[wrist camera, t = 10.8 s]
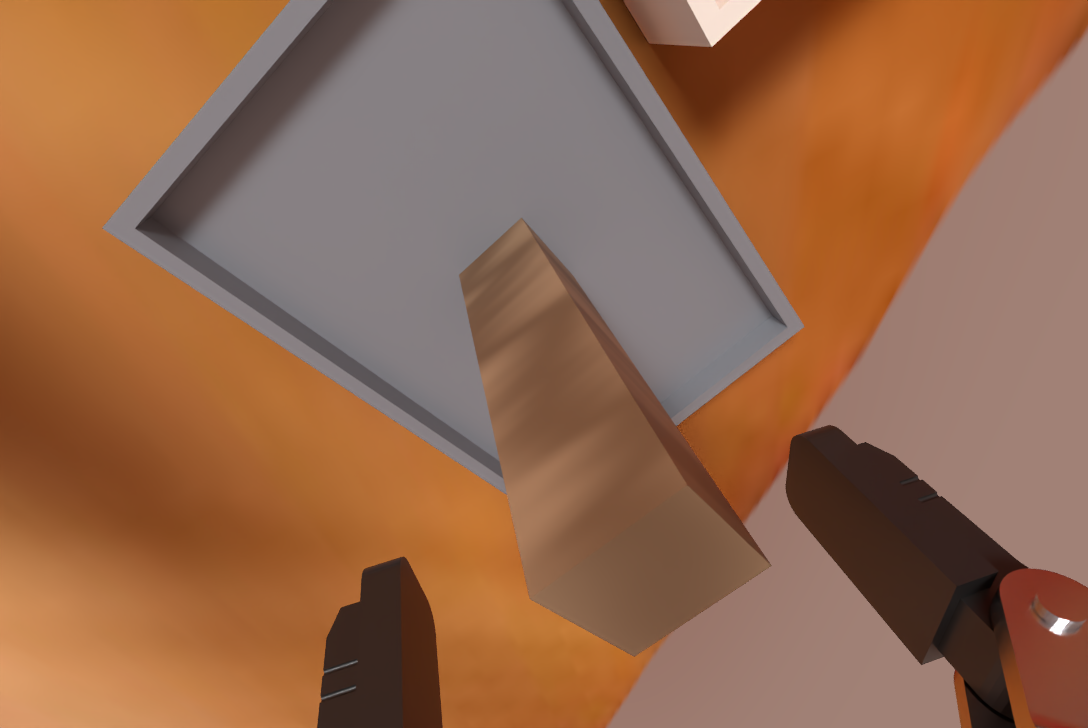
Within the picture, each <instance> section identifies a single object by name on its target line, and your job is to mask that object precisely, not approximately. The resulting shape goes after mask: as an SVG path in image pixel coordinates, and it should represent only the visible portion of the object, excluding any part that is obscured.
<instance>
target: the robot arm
mask: <svg viewBox="0 0 1088 728" xmlns="http://www.w3.org/2000/svg"><path fill="white" fill-rule="evenodd" d="M786 493H787V497H788V500H789V503H790V505H791V507H792V509H793V511H794V512H795V514H796V515H797V516H798V518H799V519H800V520H801V521H802V522H803V524H804V525H805V526H806V527H807V528H808V530H809V531H810V532H811V533H812V534H813V536H814V537H815V538H816V539H817V540H818V542H819V543H820V544H821V545H822V546H823V548H824V549H825V550H826V551H827V552H828V554H829V555H830V556H831V557H832V558H833V560H834V561H835V562H836V563H837V564H838V566H839V567H840V568H841V569H842V570H843V572H844V573H845V574H846V575H847V576H848V578H849V579H850V580H851V581H852V582H853V584H854V585H855V586H856V587H857V588H858V590H859V591H860V592H861V593H862V594H863V596H864V597H865V598H866V599H867V600H868V602H869V603H870V604H871V605H872V606H873V607H874V609H875V610H876V611H877V612H878V614H879V615H880V616H881V617H882V618H883V620H884V621H885V622H886V623H887V624H888V626H889V627H890V628H891V629H892V630H893V632H894V633H895V634H896V635H897V636H898V638H899V639H900V640H901V641H902V642H903V643H904V645H905V646H906V647H907V648H908V650H909V651H910V652H911V653H912V654H913V656H914V657H915V658H916V659H917V660H918V662H919V663H920V664H921V665H923V664H925V663H928V662H931V661H933V660H936V659H939V658H942V657H945V658H946V659H947V661H948V662H949V663H950V664H951V665H952V666H953V667H954V669H955V672H954V685H955V692H956V698H957V704H958V710H959V717H960V723H961V728H1088V587H1086V586H1084V585H1083V584H1081V583H1079V582H1077V581H1075V580H1073V579H1071V578H1069V577H1066V576H1064V575H1061V574H1058V573H1055V572H1051V571H1048V570H1042V569H1031V568H1028V567H1027V566H1025V565H1023V564H1022V563H1020V562H1019V561H1018V560H1016V559H1015V558H1014V557H1013V556H1012V555H1010V554H1009V553H1008V552H1007V551H1006V550H1005V549H1003V548H1002V547H1001V546H1000V545H998V544H997V543H996V542H995V541H994V540H993V539H992V538H990V537H989V536H988V535H987V534H986V533H985V532H983V531H982V530H981V529H980V528H978V527H977V526H976V525H975V524H974V523H973V522H972V521H970V520H969V519H968V518H967V517H966V516H965V515H963V514H962V513H961V512H960V511H959V510H957V509H956V508H955V507H954V506H952V504H950V503H949V502H948V501H947V500H946V499H945V498H943V497H942V496H941V497H939V496H938V495H937V492H936V491H935V490H934V489H933V488H931V487H930V486H929V485H928V484H927V483H926V482H924V481H923V480H919V479H918V476H917V475H916V474H915V473H914V472H912V470H910V469H909V468H908V467H907V466H905V465H904V464H903V463H902V462H901V461H900V460H898V459H897V458H896V457H895V456H893V455H891V454H889V453H887V452H885V451H882V450H881V449H879V448H877V447H874V446H872V445H870V444H868V443H866V442H865V443H861V444H858V445H857V444H856V443H855V442H853V441H852V440H851V439H850V438H849V437H848V436H847V435H846V434H844V433H843V432H842V431H841V430H840V429H838V428H837V427H835V426H831V425H828V426H825V427H821V428H818V429H815V430H812V431H808V432H805V433H802V434H799V435H796V436H794V437H793V438H792V440H791V445H790V454H789V462H788V470H787V478H786ZM323 670H324V676H323V678H322V688H321V699H322V701H321V703H320V706H319V716H318V725H317V728H443V727H442V714H441V700H440V687H439V673H438V660H437V646H436V633H435V625H434V620H433V615H432V611H431V608H430V605H429V602H428V600H427V598H426V596H425V594H424V592H423V590H422V588H421V586H420V584H419V582H418V580H417V578H416V576H415V574H414V572H413V570H412V568H411V566H410V564H409V562H408V561H407V559H406V558H405V557H400V558H397V559H394V560H391V561H388V562H384V563H381V564H378V565H375V566H372V567H368V568H366V569H364V571H363V573H362V580H361V598H360V602H357V603H354V604H351V605H348V606H345V607H342V608H341V609H340V611H339V613H338V615H337V617H336V619H335V622H334V624H333V626H332V628H331V630H330V632H329V634H328V637H327V640H326V649H325V659H324V668H323Z"/></svg>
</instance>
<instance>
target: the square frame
mask: <svg viewBox="0 0 1088 728" xmlns="http://www.w3.org/2000/svg"><path fill="white" fill-rule="evenodd" d="M623 1H624V3H625V5H626V6H627V8H628V10H629V11H630V13H631V15H632V16H633V18H634V20H635V21H636V23H637V25H638V26H639V28H640V29H641V31H642V33H643V34H644V36H645V38H646V39H647V41H648V43H649V44H666V45H684V46H702V47H713V46H714V45H715V44H716V43H717V42H718V41H719V40H720V39H721V38H722V37H723V36H724V35H725V34H726V33H727V32H728V31H729V30H731V29H732V28H733V27H734V26H735V25H736V24H737V23H738V22H739V21H740V20H741V19H742V18H743V17H744V16H745V15H746V14H747V13H749V12H750V11H751V10H752V9H753V8H754V7H755V6H756V5H757V4H758V3H759V2H760V1H761V0H623Z"/></svg>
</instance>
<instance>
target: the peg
mask: <svg viewBox="0 0 1088 728" xmlns="http://www.w3.org/2000/svg"><path fill="white" fill-rule="evenodd" d="M459 278H460V282H461V287H462V291H463V296H464V300H465V305H466V310H467V314H468V319H469V323H470V328H471V332H472V337H473V342H474V346H475V351H476V355H477V360H478V364H479V369H480V374H481V378H482V383H483V387H484V392H485V396H486V401H487V406H488V410H489V415H490V419H491V424H492V428H493V433H494V438H495V442H496V447H497V451H498V456H499V460H500V465H501V470H502V474H503V479H504V483H505V488H506V492H507V497H508V502H509V506H510V511H511V515H512V520H513V524H514V529H515V534H516V538H517V543H518V547H519V552H520V556H521V561H522V566H523V570H524V575H525V579H526V584H527V588H528V593H529V598H530V599H531V600H532V601H534V602H536V603H538V604H540V605H542V606H543V607H545V608H547V609H549V610H551V611H552V612H554V613H556V614H558V615H560V616H561V617H563V618H565V619H567V620H569V621H570V622H572V623H574V624H576V625H578V626H580V627H581V628H583V629H585V630H587V631H589V632H590V633H592V634H594V635H596V636H598V637H599V638H601V639H603V640H605V641H607V642H609V643H610V644H612V645H614V646H616V647H618V648H619V649H621V650H623V651H625V652H627V653H628V654H630V655H632V656H634V657H635V656H636V655H638V654H639V653H641V652H642V651H644V650H645V649H647V648H648V647H650V646H651V645H653V644H654V643H656V642H657V641H659V640H660V639H662V638H663V637H665V636H666V635H668V634H669V633H671V632H672V631H674V630H675V629H677V628H678V627H680V626H681V625H683V624H684V623H686V622H687V621H689V620H690V619H692V618H693V617H695V616H696V615H698V614H699V613H701V612H703V611H704V610H705V609H707V608H709V607H710V606H711V605H713V604H714V603H716V602H717V601H719V600H721V599H722V598H724V597H725V596H727V595H728V594H730V593H731V592H733V591H734V590H736V589H737V588H739V587H740V586H742V585H743V584H745V583H746V582H748V581H749V580H751V579H752V578H754V577H755V576H757V575H758V574H760V573H761V572H763V571H764V570H766V569H767V568H769V567H770V566H771V564H770V563H769V561H768V560H767V558H766V557H765V556H764V554H763V553H762V551H761V550H760V548H759V547H758V545H757V544H756V542H755V541H754V539H753V538H752V537H751V535H750V534H749V532H748V531H747V529H746V528H745V526H744V525H743V523H742V522H741V520H740V519H739V518H738V516H737V515H736V513H735V512H734V510H733V509H732V507H731V506H730V504H729V503H728V501H727V500H726V498H725V497H724V496H723V494H722V493H721V491H720V490H719V488H718V487H717V485H716V484H715V482H714V481H713V479H712V478H711V477H710V475H709V474H708V472H707V471H706V469H705V468H704V466H703V465H702V463H701V462H700V460H699V459H698V458H697V456H696V455H695V453H694V452H693V450H692V449H691V447H690V446H689V444H688V443H687V441H686V440H685V439H684V437H683V436H682V434H681V433H680V431H679V430H678V428H677V427H676V425H675V424H674V422H673V421H672V419H671V418H670V417H669V415H668V414H667V412H666V411H665V409H664V408H663V406H662V405H661V403H660V402H659V400H658V399H657V398H656V396H655V395H654V393H653V392H652V390H651V389H650V387H649V386H648V384H647V383H646V381H645V380H644V379H643V377H642V376H641V374H640V373H639V371H638V370H637V368H636V367H635V365H634V364H633V362H632V361H631V360H630V358H629V357H628V355H627V354H626V352H625V351H624V349H623V348H622V346H621V345H620V343H619V342H618V340H617V339H616V338H615V336H614V335H613V333H612V332H611V330H610V329H609V327H608V326H607V324H606V323H605V321H604V320H603V319H602V317H601V316H600V314H599V313H598V311H597V310H596V308H595V307H594V305H593V304H592V302H591V301H590V300H589V298H588V297H587V295H586V294H585V292H584V291H583V289H582V288H581V286H580V285H579V283H578V282H577V280H576V279H575V278H574V276H573V275H572V274H571V273H570V271H569V270H568V269H567V268H566V267H565V266H564V265H563V264H562V262H561V261H560V260H559V259H558V258H557V257H556V256H555V255H554V253H553V252H552V251H551V250H550V249H549V248H548V247H547V246H546V244H545V243H544V242H543V241H542V240H541V239H540V238H539V237H538V235H537V234H536V233H535V232H534V231H533V230H532V229H531V228H530V226H529V225H528V224H527V223H526V222H525V221H524V220H523V219H522V218H520V219H519V220H518V221H517V222H516V223H515V224H514V225H513V226H512V227H511V228H510V229H508V230H507V231H506V232H505V233H504V234H503V235H502V236H501V237H500V238H499V239H498V240H496V241H495V242H494V243H493V244H492V245H491V246H490V247H489V248H488V249H487V250H486V251H484V252H483V253H482V254H481V255H480V256H479V257H478V258H477V259H476V260H475V261H474V262H472V263H471V264H470V265H469V266H468V267H467V268H466V269H465V270H464V271H463V272H462V273H460V274H459Z"/></svg>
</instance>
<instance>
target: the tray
mask: <svg viewBox="0 0 1088 728" xmlns="http://www.w3.org/2000/svg"><path fill="white" fill-rule="evenodd" d="M520 218H522V219H523V220H524V221H525V222H526V223H527V224H528V225H529V226H530V228H531V229H532V230H533V231H534V232H535V233H536V234H537V235H538V237H539V238H540V239H541V240H542V241H543V242H544V243H545V244H546V246H547V247H548V248H549V249H550V250H551V251H552V252H553V253H554V255H555V256H556V257H557V258H558V259H559V260H560V261H561V262H562V264H563V265H564V266H565V267H566V268H567V269H568V270H569V271H570V273H571V274H572V275H573V276H574V278H575V279H576V280H577V282H578V283H579V285H580V286H581V288H582V289H583V291H584V292H585V294H586V295H587V297H588V298H589V300H590V301H591V302H592V304H593V305H594V307H595V308H596V310H597V311H598V313H599V314H600V316H601V317H602V319H603V320H604V321H605V323H606V324H607V326H608V327H609V329H610V330H611V332H612V333H613V335H614V336H615V338H616V339H617V340H618V342H619V343H620V345H621V346H622V348H623V349H624V351H625V352H626V354H627V355H628V357H629V358H630V360H631V361H632V362H633V364H634V365H635V367H636V368H637V370H638V371H639V373H640V374H641V376H642V377H643V379H644V380H645V381H646V383H647V384H648V386H649V387H650V389H651V390H652V392H653V393H654V395H655V396H656V398H657V399H658V400H659V402H660V403H661V405H662V406H663V408H664V409H665V411H666V412H667V414H668V415H669V417H670V418H671V419H672V421H673V422H674V424H675V425H676V426H677V425H678V424H680V423H681V422H682V421H683V420H685V419H686V418H687V417H689V416H690V415H691V414H692V413H694V412H695V411H696V410H698V409H699V408H700V407H701V406H703V405H704V404H705V403H707V402H708V401H709V400H710V399H712V398H713V397H714V396H716V395H717V394H718V393H719V392H721V391H722V390H723V389H725V388H726V387H727V386H728V385H730V384H731V383H732V382H734V381H735V380H736V379H738V378H739V377H740V376H741V375H743V374H744V373H745V372H747V371H748V370H749V369H750V368H752V367H753V366H754V365H756V364H757V363H758V362H759V361H761V360H762V359H763V358H765V357H766V356H767V355H768V354H770V353H771V352H772V351H774V350H775V349H776V348H777V347H779V346H780V345H781V344H783V343H784V342H785V341H786V340H788V339H789V338H790V337H792V336H793V335H794V334H796V333H797V332H798V331H799V330H801V329H802V328H803V327H804V325H803V324H802V322H801V320H800V319H799V317H798V316H797V314H796V312H795V311H794V309H793V308H792V306H791V305H790V303H789V301H788V300H787V298H786V297H785V295H784V293H783V292H782V290H781V289H780V287H779V286H778V284H777V282H776V281H775V279H774V278H773V276H772V274H771V273H770V271H769V270H768V268H767V266H766V265H765V263H764V262H763V260H762V259H761V257H760V255H759V254H758V252H757V251H756V249H755V247H754V246H753V244H752V243H751V241H750V240H749V238H748V236H747V235H746V233H745V232H744V230H743V228H742V227H741V225H740V224H739V222H738V221H737V219H736V217H735V216H734V214H733V213H732V211H731V209H730V208H729V206H728V205H727V203H726V202H725V200H724V198H723V197H722V195H721V194H720V192H719V190H718V189H717V187H716V186H715V184H714V183H713V181H712V179H711V178H710V176H709V175H708V173H707V171H706V170H705V168H704V167H703V165H702V164H701V162H700V160H699V159H698V157H697V156H696V154H695V152H694V151H693V149H692V148H691V146H690V144H689V143H688V141H687V140H686V138H685V137H684V135H683V133H682V132H681V130H680V129H679V127H678V125H677V124H676V122H675V121H674V119H673V118H672V116H671V114H670V113H669V111H668V110H667V108H666V106H665V105H664V103H663V102H662V100H661V99H660V97H659V95H658V94H657V92H656V91H655V89H654V87H653V86H652V84H651V83H650V81H649V80H648V78H647V76H646V75H645V73H644V72H643V70H642V68H641V67H640V65H639V64H638V62H637V61H636V59H635V57H634V56H633V54H632V53H631V51H630V49H629V48H628V46H627V45H626V43H625V42H624V40H623V38H622V37H621V35H620V34H619V32H618V30H617V29H616V27H615V26H614V24H613V23H612V21H611V19H610V18H609V16H608V15H607V13H606V11H605V10H604V8H603V7H602V5H601V3H600V2H599V0H290V2H289V3H288V4H287V5H286V6H285V8H284V9H283V10H282V11H281V12H280V14H279V15H278V16H277V17H276V18H275V20H274V21H273V22H272V23H271V24H270V26H269V27H268V28H267V29H266V31H265V32H264V33H263V34H262V35H261V37H260V38H259V39H258V40H257V41H256V43H255V44H254V45H253V46H252V47H251V49H250V50H249V51H248V52H247V54H246V55H245V56H244V57H243V58H242V60H241V61H240V62H239V63H238V64H237V66H236V67H235V68H234V69H233V70H232V72H231V73H230V74H229V75H228V77H227V78H226V79H225V80H224V81H223V83H222V84H221V85H220V86H219V87H218V89H217V90H216V91H215V92H214V93H213V95H212V96H211V97H210V98H209V100H208V101H207V102H206V103H205V104H204V106H203V107H202V108H201V109H200V110H199V112H198V113H197V114H196V115H195V116H194V118H193V119H192V120H191V121H190V122H189V124H188V125H187V126H186V127H185V129H184V130H183V131H182V132H181V133H180V135H179V136H178V137H177V138H176V139H175V141H174V142H173V143H172V144H171V145H170V147H169V148H168V149H167V150H166V152H165V153H164V154H163V155H162V156H161V158H160V159H159V160H158V161H157V162H156V164H155V165H154V166H153V167H152V168H151V170H150V171H149V172H148V173H147V175H146V176H145V177H144V178H143V179H142V181H141V182H140V183H139V184H138V185H137V187H136V188H135V189H134V190H133V191H132V193H131V194H130V195H129V196H128V198H127V199H126V200H125V201H124V202H123V204H122V205H121V206H120V207H119V208H118V210H117V211H116V212H115V213H114V214H113V216H112V217H111V218H110V219H109V221H108V222H107V223H106V224H105V225H104V227H103V229H104V230H106V231H107V232H109V233H110V234H112V235H113V236H115V237H116V238H118V239H119V240H121V241H122V242H124V243H125V244H127V245H128V246H130V247H131V248H133V249H135V250H136V251H138V252H139V253H141V254H142V255H144V256H145V257H147V258H148V259H150V260H151V261H153V262H154V263H156V264H157V265H159V266H160V267H162V268H163V269H165V270H166V271H168V272H169V273H171V274H172V275H174V276H175V277H177V278H179V279H180V280H182V281H183V282H185V283H186V284H188V285H189V286H191V287H192V288H194V289H195V290H197V291H198V292H200V293H201V294H203V295H204V296H206V297H207V298H209V299H210V300H212V301H213V302H215V303H216V304H218V305H219V306H221V307H223V308H224V309H226V310H227V311H229V312H230V313H232V314H233V315H235V316H236V317H238V318H239V319H241V320H242V321H244V322H245V323H247V324H248V325H250V326H251V327H253V328H254V329H256V330H257V331H259V332H260V333H262V334H263V335H265V336H267V337H268V338H270V339H271V340H273V341H274V342H276V343H277V344H279V345H280V346H282V347H283V348H285V349H286V350H288V351H289V352H291V353H292V354H294V355H295V356H297V357H298V358H300V359H301V360H303V361H304V362H306V363H307V364H309V365H311V366H312V367H314V368H315V369H317V370H318V371H320V372H321V373H323V374H324V375H326V376H327V377H329V378H330V379H332V380H333V381H335V382H336V383H338V384H339V385H341V386H342V387H344V388H345V389H347V390H348V391H350V392H351V393H353V394H355V395H356V396H358V397H359V398H361V399H362V400H364V401H365V402H367V403H368V404H370V405H371V406H373V407H374V408H376V409H377V410H379V411H380V412H382V413H383V414H385V415H386V416H388V417H389V418H391V419H392V420H394V421H395V422H397V423H399V424H400V425H402V426H403V427H405V428H406V429H408V430H409V431H411V432H412V433H414V434H415V435H417V436H418V437H420V438H421V439H423V440H424V441H426V442H427V443H429V444H430V445H432V446H433V447H435V448H436V449H438V450H440V451H441V452H443V453H444V454H446V455H447V456H449V457H450V458H452V459H453V460H455V461H456V462H458V463H459V464H461V465H462V466H464V467H465V468H467V469H468V470H470V471H471V472H473V473H474V474H476V475H477V476H479V477H480V478H482V479H484V480H485V481H487V482H488V483H490V484H491V485H493V486H494V487H496V488H497V489H499V490H500V491H502V492H503V493H505V494H506V495H507V492H506V488H505V483H504V479H503V474H502V470H501V465H500V460H499V456H498V451H497V447H496V442H495V438H494V433H493V428H492V424H491V419H490V415H489V410H488V406H487V401H486V396H485V392H484V387H483V383H482V378H481V374H480V369H479V364H478V360H477V355H476V351H475V346H474V342H473V337H472V332H471V328H470V323H469V319H468V314H467V310H466V305H465V300H464V296H463V291H462V287H461V282H460V278H459V274H460V273H462V272H463V271H464V270H465V269H466V268H467V267H468V266H469V265H470V264H471V263H472V262H474V261H475V260H476V259H477V258H478V257H479V256H480V255H481V254H482V253H483V252H484V251H486V250H487V249H488V248H489V247H490V246H491V245H492V244H493V243H494V242H495V241H496V240H498V239H499V238H500V237H501V236H502V235H503V234H504V233H505V232H506V231H507V230H508V229H510V228H511V227H512V226H513V225H514V224H515V223H516V222H517V221H518V220H519V219H520Z"/></svg>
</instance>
